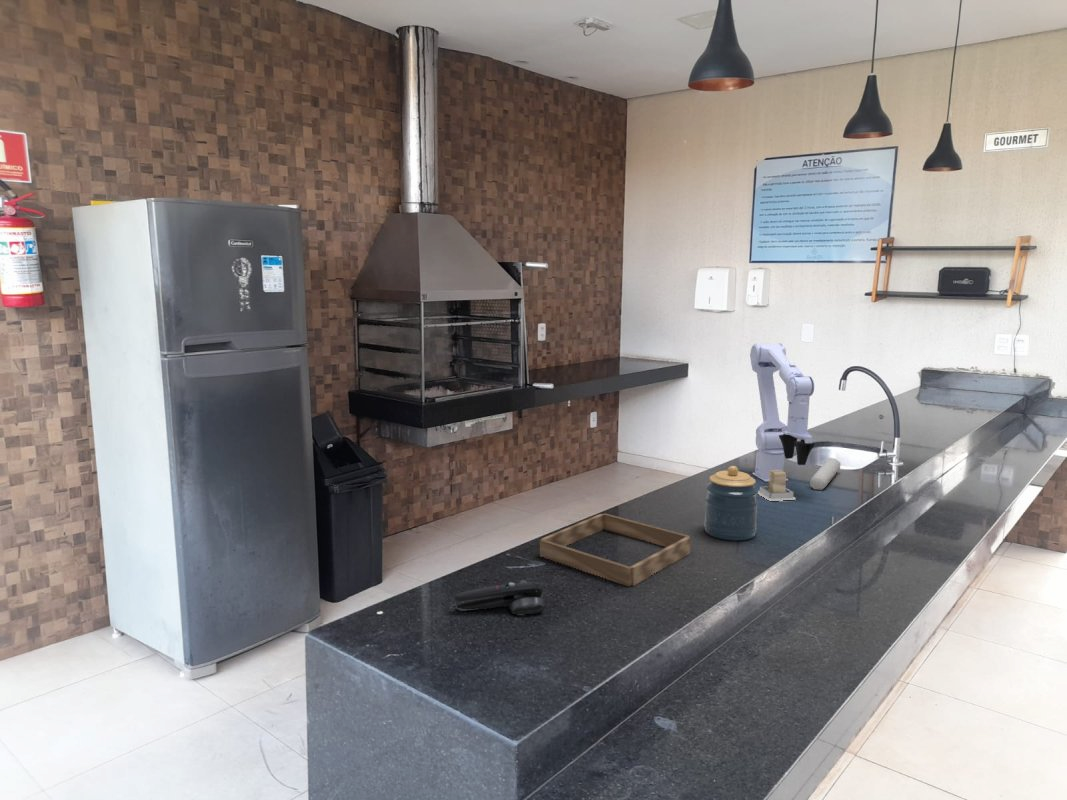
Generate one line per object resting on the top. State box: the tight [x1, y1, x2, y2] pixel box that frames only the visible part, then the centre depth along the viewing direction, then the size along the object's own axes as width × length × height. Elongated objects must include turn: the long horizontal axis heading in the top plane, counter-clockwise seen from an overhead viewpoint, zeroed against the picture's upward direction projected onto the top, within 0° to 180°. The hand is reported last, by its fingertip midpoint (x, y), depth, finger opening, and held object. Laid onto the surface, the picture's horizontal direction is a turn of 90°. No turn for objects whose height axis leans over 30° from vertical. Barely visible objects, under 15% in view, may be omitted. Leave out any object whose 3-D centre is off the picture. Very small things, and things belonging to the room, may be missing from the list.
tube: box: [809, 457, 841, 491], centre depth 235 cm, size 5×5×25 cm
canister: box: [703, 465, 760, 542], centre depth 187 cm, size 13×13×18 cm
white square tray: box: [759, 485, 794, 499], centre depth 218 cm, size 8×8×2 cm
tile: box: [756, 490, 796, 502], centre depth 218 cm, size 8×8×1 cm
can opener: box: [454, 580, 546, 615], centre depth 145 cm, size 18×7×6 cm, turn 93°
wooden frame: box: [539, 513, 692, 587], centre depth 174 cm, size 26×26×4 cm
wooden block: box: [768, 470, 787, 493], centre depth 218 cm, size 4×4×7 cm
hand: (794, 461), depth 221 cm, fingers open, 7 cm apart
